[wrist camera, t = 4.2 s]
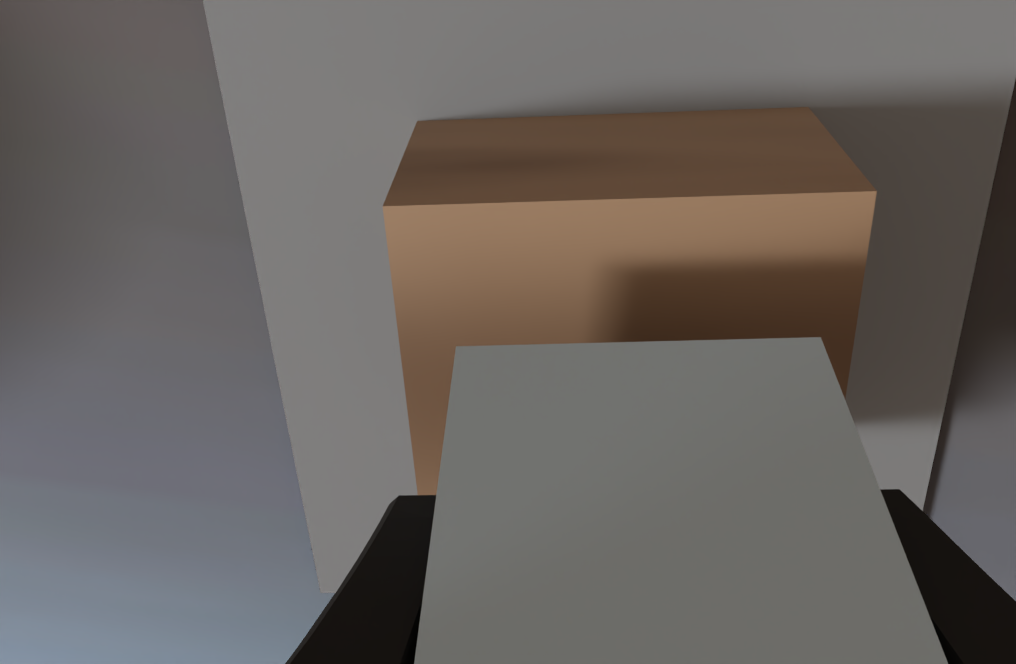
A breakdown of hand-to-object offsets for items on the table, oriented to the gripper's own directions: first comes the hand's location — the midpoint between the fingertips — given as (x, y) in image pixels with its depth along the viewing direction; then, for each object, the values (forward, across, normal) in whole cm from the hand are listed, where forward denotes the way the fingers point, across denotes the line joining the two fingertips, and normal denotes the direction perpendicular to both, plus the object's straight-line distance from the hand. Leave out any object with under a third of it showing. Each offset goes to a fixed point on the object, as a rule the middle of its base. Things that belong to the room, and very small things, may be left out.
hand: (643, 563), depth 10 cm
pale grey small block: (+2, 0, 0) cm, 2 cm away
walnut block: (+7, 0, 0) cm, 7 cm away
